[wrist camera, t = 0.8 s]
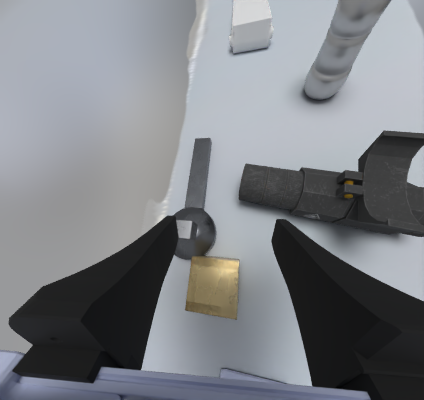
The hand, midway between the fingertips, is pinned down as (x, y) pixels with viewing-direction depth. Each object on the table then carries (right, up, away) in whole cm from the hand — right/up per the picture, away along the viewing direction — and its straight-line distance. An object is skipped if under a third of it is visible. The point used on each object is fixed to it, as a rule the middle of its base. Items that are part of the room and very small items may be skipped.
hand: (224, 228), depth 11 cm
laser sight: (+15, +2, +13) cm, 20 cm away
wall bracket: (+9, +51, +31) cm, 61 cm away
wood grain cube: (0, -9, +11) cm, 15 cm away
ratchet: (-4, +3, +16) cm, 17 cm away
